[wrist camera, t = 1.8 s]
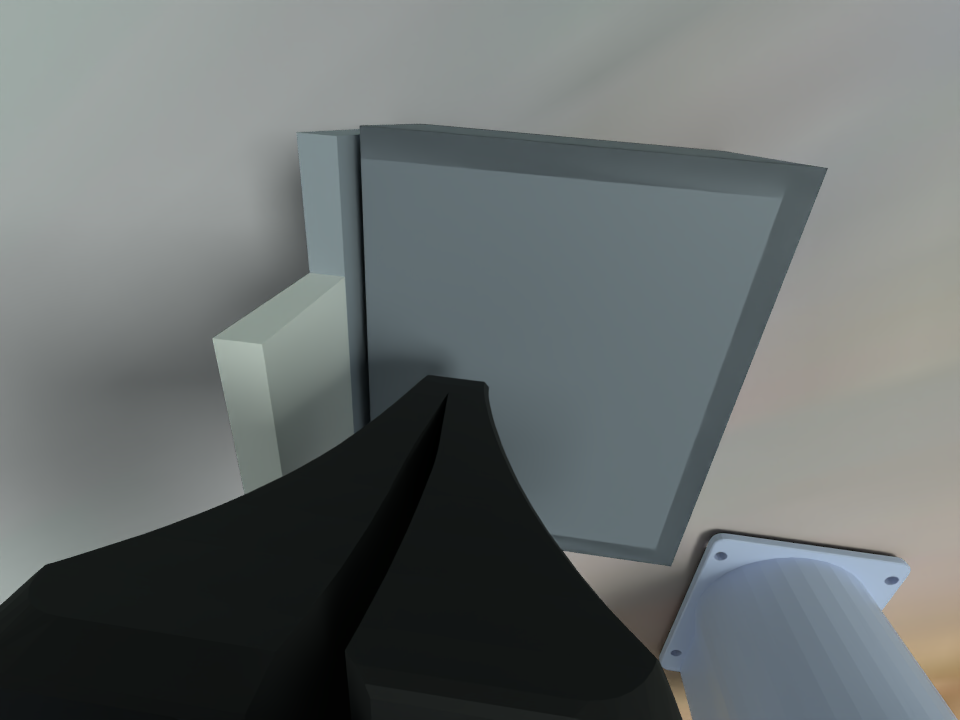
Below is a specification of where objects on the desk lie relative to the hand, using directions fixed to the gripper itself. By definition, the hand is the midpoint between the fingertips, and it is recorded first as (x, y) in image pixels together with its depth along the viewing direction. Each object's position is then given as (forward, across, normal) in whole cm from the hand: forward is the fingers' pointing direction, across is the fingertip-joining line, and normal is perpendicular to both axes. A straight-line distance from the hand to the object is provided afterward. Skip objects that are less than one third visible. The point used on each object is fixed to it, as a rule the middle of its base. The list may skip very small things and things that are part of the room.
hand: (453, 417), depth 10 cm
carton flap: (+7, +4, 0) cm, 8 cm away
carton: (+7, -2, 0) cm, 7 cm away
